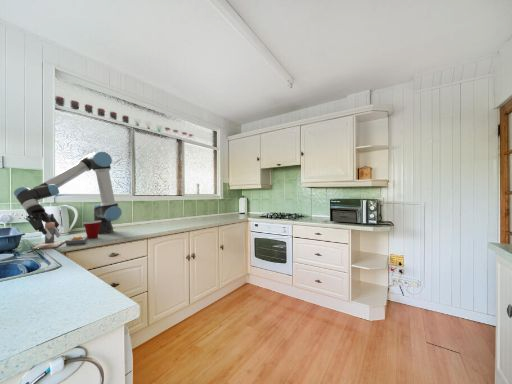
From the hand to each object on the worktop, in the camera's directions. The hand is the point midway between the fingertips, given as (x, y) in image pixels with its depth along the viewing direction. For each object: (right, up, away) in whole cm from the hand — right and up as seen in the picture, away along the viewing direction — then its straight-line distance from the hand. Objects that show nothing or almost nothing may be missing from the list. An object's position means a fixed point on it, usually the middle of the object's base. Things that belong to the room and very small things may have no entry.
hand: (54, 236), depth 130 cm
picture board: (-7, -6, +5) cm, 10 cm away
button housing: (+5, -6, +11) cm, 13 cm away
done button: (+5, -4, +11) cm, 13 cm away
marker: (-4, -4, +1) cm, 5 cm away
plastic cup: (+1, -7, +28) cm, 29 cm away
